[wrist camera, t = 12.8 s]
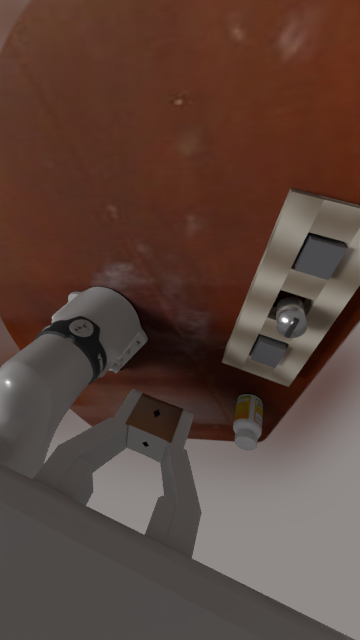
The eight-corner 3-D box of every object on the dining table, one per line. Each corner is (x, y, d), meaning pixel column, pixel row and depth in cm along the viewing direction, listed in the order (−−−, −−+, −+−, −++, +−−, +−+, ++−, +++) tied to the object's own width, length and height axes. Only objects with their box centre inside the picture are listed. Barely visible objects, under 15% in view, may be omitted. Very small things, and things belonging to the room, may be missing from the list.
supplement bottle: (234, 405, 55) (227, 445, 48) (241, 389, 52) (234, 430, 44) (258, 413, 54) (255, 456, 47) (266, 398, 51) (265, 441, 43)
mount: (287, 370, 46) (288, 386, 43) (225, 348, 48) (221, 362, 45) (391, 213, 29) (405, 219, 26) (290, 187, 31) (291, 191, 28)
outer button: (322, 266, 34) (328, 280, 31) (293, 257, 35) (295, 270, 31) (338, 237, 32) (347, 249, 28) (307, 229, 33) (311, 239, 29)
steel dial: (296, 321, 37) (299, 344, 32) (272, 313, 37) (271, 335, 33) (308, 301, 34) (313, 322, 30) (282, 293, 35) (283, 313, 31)
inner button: (275, 349, 44) (275, 368, 40) (253, 341, 44) (250, 359, 41) (285, 331, 42) (286, 350, 38) (261, 323, 42) (260, 341, 38)
